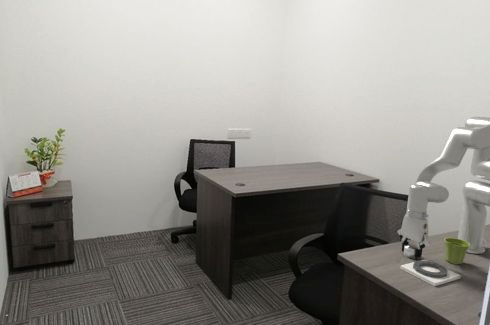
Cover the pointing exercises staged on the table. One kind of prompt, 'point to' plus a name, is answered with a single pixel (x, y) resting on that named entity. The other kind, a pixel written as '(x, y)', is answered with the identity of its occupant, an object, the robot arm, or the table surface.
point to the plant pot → (455, 250)
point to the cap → (410, 251)
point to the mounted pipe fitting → (430, 272)
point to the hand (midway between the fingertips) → (411, 253)
